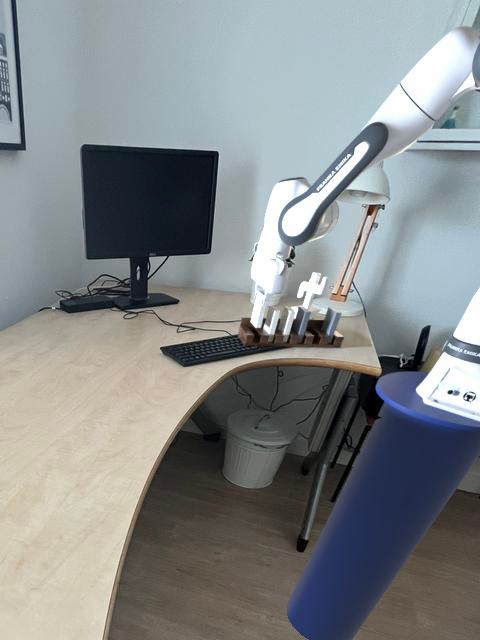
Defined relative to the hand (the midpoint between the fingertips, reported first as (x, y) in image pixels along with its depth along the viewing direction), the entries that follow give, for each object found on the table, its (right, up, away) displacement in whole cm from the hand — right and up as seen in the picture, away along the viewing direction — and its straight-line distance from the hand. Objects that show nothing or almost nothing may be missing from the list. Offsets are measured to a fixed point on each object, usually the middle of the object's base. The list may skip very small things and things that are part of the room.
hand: (260, 302), depth 131 cm
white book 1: (0, -5, +4) cm, 6 cm away
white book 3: (+9, -8, +7) cm, 14 cm away
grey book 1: (+14, -8, +7) cm, 17 cm away
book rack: (+11, -9, +7) cm, 16 cm away
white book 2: (+4, -8, +7) cm, 11 cm away
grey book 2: (+23, -9, +7) cm, 25 cm away
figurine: (+26, +7, +27) cm, 38 cm away
